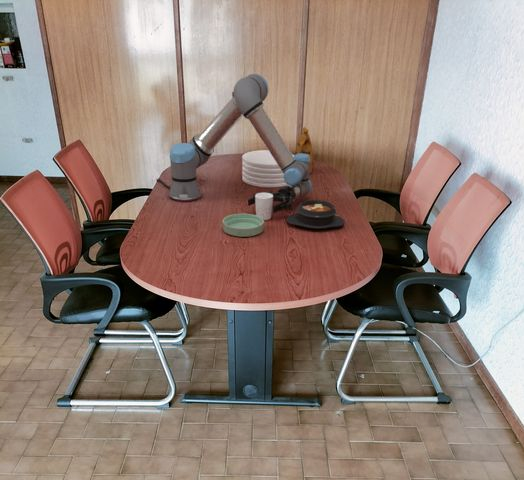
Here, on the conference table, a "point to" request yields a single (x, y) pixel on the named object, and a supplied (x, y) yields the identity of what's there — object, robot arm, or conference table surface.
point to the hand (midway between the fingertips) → (261, 206)
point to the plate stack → (262, 170)
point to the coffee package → (305, 147)
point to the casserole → (315, 215)
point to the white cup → (264, 205)
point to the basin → (243, 225)
